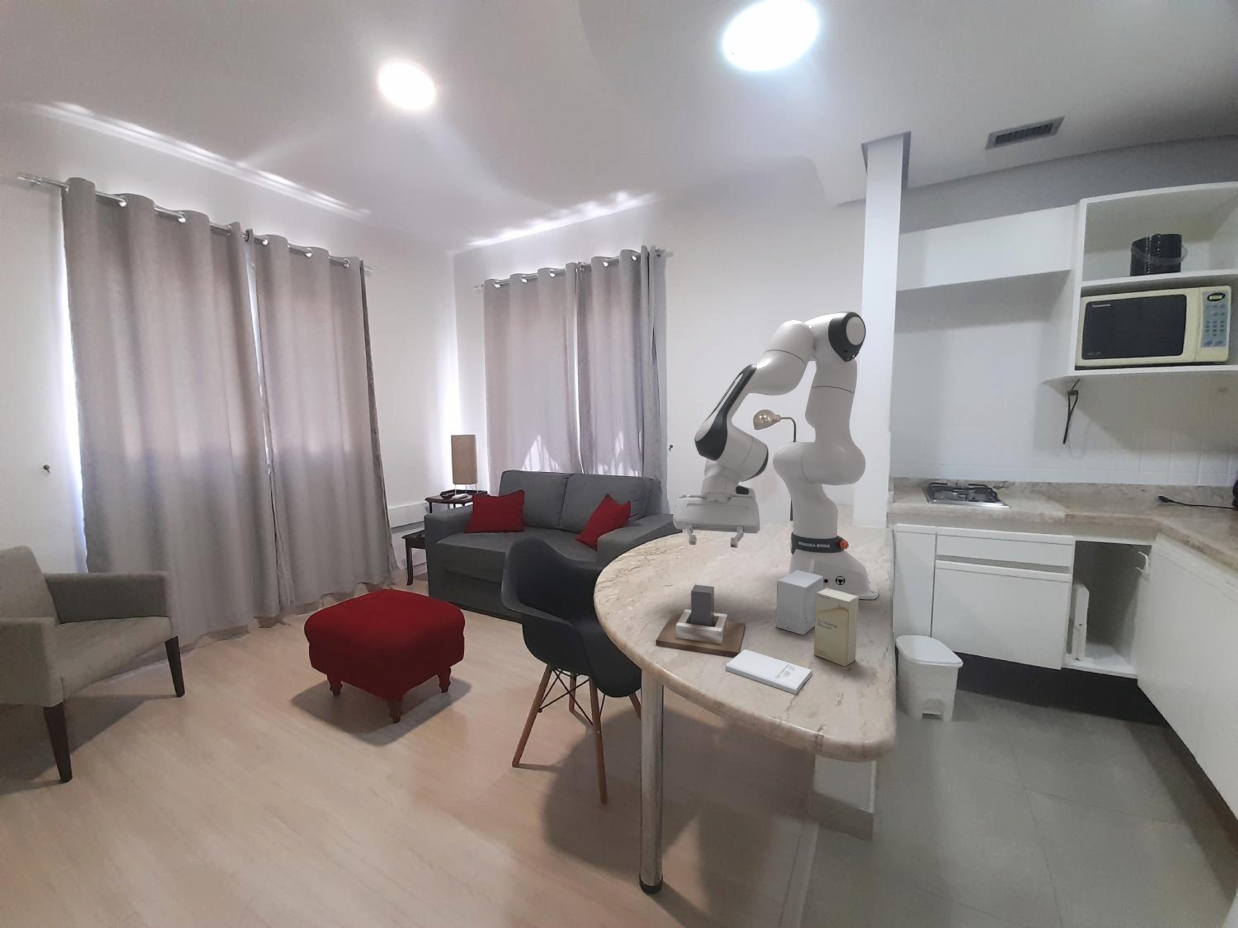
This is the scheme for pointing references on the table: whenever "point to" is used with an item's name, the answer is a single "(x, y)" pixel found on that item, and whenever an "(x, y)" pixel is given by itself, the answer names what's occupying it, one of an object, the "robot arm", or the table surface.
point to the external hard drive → (769, 671)
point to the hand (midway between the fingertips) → (712, 544)
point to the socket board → (703, 635)
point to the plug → (702, 605)
